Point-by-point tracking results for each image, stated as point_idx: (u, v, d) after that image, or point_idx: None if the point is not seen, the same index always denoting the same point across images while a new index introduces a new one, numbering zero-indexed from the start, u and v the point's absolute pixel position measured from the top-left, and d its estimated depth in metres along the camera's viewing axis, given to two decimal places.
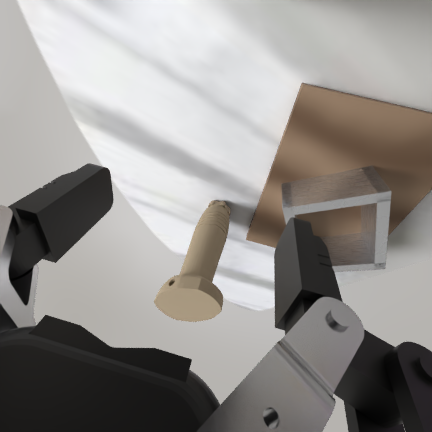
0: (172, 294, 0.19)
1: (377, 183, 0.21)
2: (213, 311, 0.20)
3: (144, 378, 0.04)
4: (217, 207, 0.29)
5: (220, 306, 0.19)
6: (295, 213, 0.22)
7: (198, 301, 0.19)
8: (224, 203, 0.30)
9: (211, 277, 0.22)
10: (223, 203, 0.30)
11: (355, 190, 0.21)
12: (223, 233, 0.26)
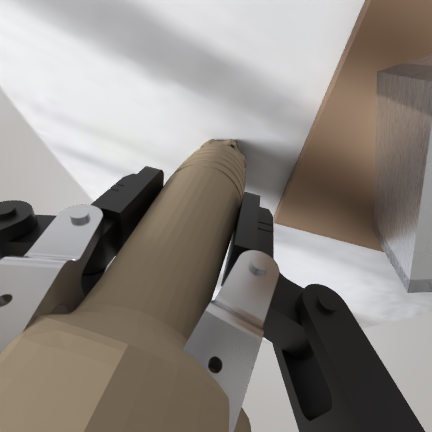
0: None
1: None
2: None
3: None
4: (219, 144, 0.13)
5: None
6: None
7: None
8: (234, 142, 0.14)
9: (199, 315, 0.06)
10: (232, 141, 0.14)
11: None
12: (235, 190, 0.10)
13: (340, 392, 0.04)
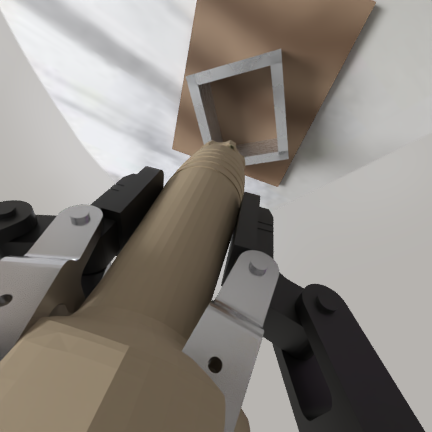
0: None
1: None
2: None
3: None
4: (219, 145, 0.13)
5: None
6: (198, 83, 0.22)
7: None
8: (233, 143, 0.14)
9: (199, 317, 0.06)
10: (231, 142, 0.14)
11: None
12: (235, 192, 0.10)
13: (340, 392, 0.04)
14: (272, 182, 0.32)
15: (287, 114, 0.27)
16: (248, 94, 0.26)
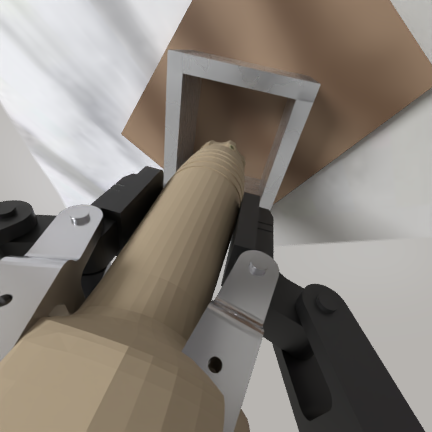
0: None
1: (307, 79, 0.14)
2: None
3: None
4: (219, 145, 0.13)
5: None
6: (184, 70, 0.14)
7: None
8: (233, 143, 0.14)
9: (199, 317, 0.06)
10: (231, 143, 0.14)
11: (278, 73, 0.14)
12: (235, 192, 0.10)
13: (340, 392, 0.04)
14: None
15: None
16: (247, 113, 0.19)
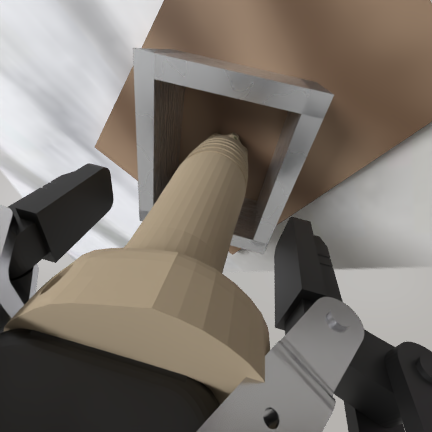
0: (50, 332, 0.04)
1: (315, 87, 0.11)
2: None
3: (144, 378, 0.04)
4: (224, 136, 0.14)
5: None
6: (156, 75, 0.10)
7: (165, 366, 0.04)
8: (236, 135, 0.16)
9: (218, 267, 0.07)
10: (235, 134, 0.15)
11: (277, 79, 0.10)
12: (241, 174, 0.11)
13: None
14: None
15: None
16: (240, 125, 0.16)
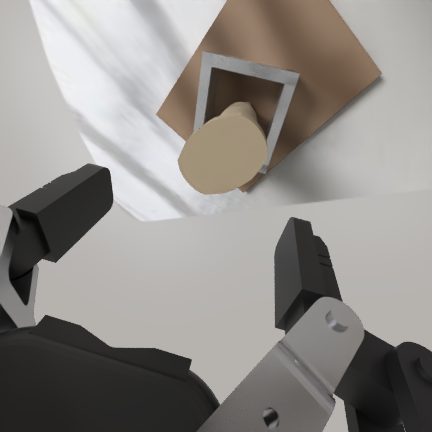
0: (204, 137, 0.15)
1: (292, 71, 0.21)
2: (256, 161, 0.15)
3: (144, 378, 0.04)
4: None
5: (266, 149, 0.15)
6: (213, 64, 0.21)
7: (238, 145, 0.15)
8: (249, 103, 0.26)
9: None
10: (248, 102, 0.26)
11: (273, 67, 0.21)
12: (253, 117, 0.22)
13: None
14: (240, 186, 0.33)
15: None
16: (251, 97, 0.26)
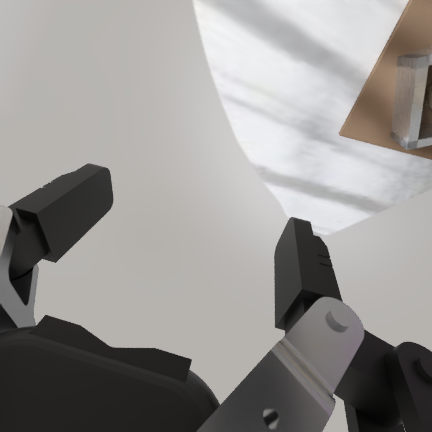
0: None
1: None
2: None
3: (144, 378, 0.04)
4: None
5: None
6: (430, 63, 0.23)
7: None
8: None
9: None
10: None
11: None
12: None
13: None
14: None
15: None
16: None
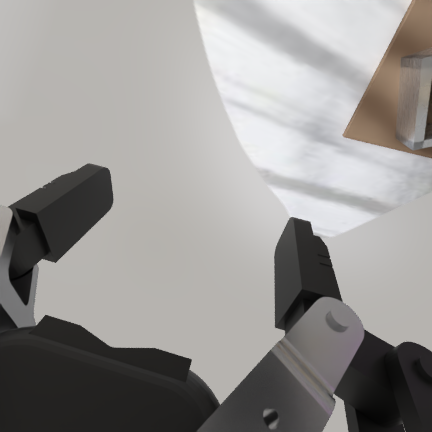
0: None
1: None
2: None
3: (144, 378, 0.04)
4: None
5: None
6: None
7: None
8: None
9: None
10: None
11: None
12: None
13: None
14: None
15: None
16: None
